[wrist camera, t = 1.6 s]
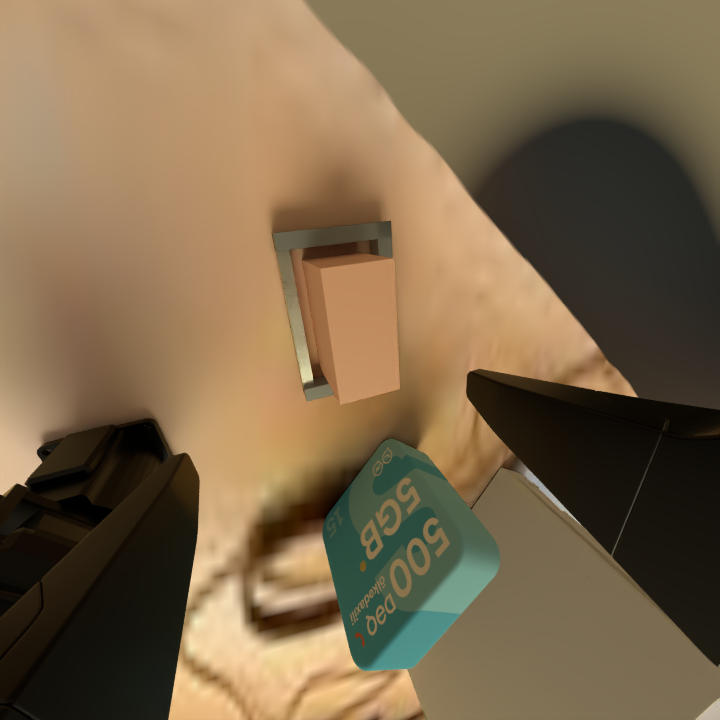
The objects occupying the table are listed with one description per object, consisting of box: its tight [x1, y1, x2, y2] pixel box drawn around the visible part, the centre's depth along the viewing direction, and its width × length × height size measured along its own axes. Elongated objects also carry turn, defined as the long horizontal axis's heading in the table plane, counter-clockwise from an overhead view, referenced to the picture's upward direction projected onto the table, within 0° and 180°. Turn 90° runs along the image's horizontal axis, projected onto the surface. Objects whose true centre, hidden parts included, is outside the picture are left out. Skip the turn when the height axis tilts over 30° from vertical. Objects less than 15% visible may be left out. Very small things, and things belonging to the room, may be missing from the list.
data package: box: [323, 439, 500, 671], centre depth 24 cm, size 12×4×12 cm, turn 142°
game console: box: [408, 468, 720, 720], centre depth 31 cm, size 6×27×20 cm, turn 150°
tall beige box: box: [302, 253, 400, 405], centre depth 19 cm, size 8×4×6 cm, turn 5°
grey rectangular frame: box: [272, 221, 393, 401], centre depth 21 cm, size 12×8×2 cm, turn 5°
